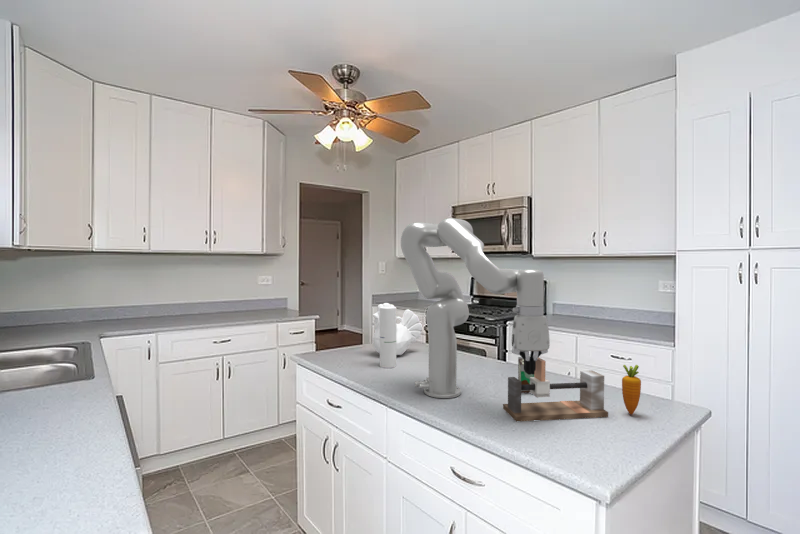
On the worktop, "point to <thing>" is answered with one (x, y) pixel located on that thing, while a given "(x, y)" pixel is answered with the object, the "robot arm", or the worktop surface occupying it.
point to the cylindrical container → (388, 336)
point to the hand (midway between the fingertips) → (529, 373)
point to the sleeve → (540, 380)
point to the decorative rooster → (399, 330)
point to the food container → (523, 374)
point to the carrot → (631, 389)
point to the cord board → (585, 408)
